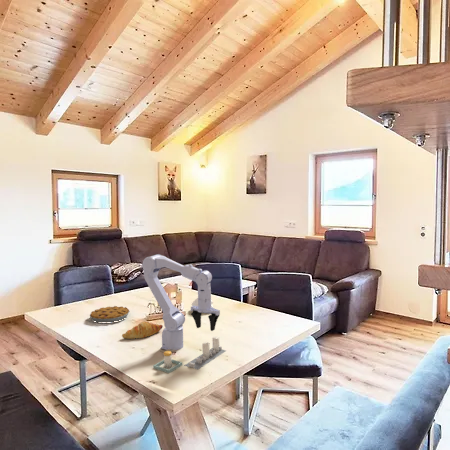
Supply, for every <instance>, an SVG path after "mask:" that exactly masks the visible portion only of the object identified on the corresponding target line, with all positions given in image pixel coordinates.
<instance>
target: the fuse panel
mask: <svg viewBox="0 0 450 450" xmlns="http://www.w3.org/2000/svg"><path fill="white" fill-rule="evenodd" d="M225 352H227V350H225V349H222V346H220V345H219V352H218V353H216V350H213V347H212V348H210V358H209V359H206V357H205V356H203V353H202V354H200V355H199V356H197V357H195V358H194V359H192V360H191V361H189V362H186V364H184V367H188V368H192V369H195V370H200V369H202V368H203V367H205V366H206V365H208V364H209V363H210V362H212V361H213V360H215V359H217V357H220V355H222V354H224V353H225Z"/></svg>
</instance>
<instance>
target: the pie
mask: <svg viewBox="0 0 450 450" xmlns="http://www.w3.org/2000/svg"><path fill="white" fill-rule="evenodd" d="M129 313H130V309H129V308H127V306H125V307H123V306H116V305H114V306H107V307H100V308H98V309H94V310H93V311H91V312H90V314H89V317H90V318H91V320H92V321H96V322H114V321H119V320H122V319H124V318H127V317H128V315H129ZM124 320H125V319H124ZM122 321H123V320H122ZM96 322H95V323H96ZM119 322H120V321H119Z"/></svg>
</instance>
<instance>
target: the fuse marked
mask: <svg viewBox="0 0 450 450" xmlns="http://www.w3.org/2000/svg"><path fill="white" fill-rule="evenodd" d="M172 357H173V356H172V350H165V351H163V360H164V363H163V364H164V365H163V366H164V367H163V368H166V369H170V368H172V367H173V363H172V359H173V358H172Z"/></svg>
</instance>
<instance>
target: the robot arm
mask: <svg viewBox="0 0 450 450" xmlns="http://www.w3.org/2000/svg"><path fill="white" fill-rule="evenodd" d="M141 268H142V269H143V278H144V280H145V282H146V284H147V286H148V288H149V290H150V292H151V293H152V295H153V297H154V298H155V300H156V302H157V304H158V306H159V307H160V309H161V311H162V320H163V322H164V323H163V324H164V328H163V330H162V332H161V347H160V349H162V350H165V351H168V350H170V351H172V350H173V351H176V350H181V349H183V348H184V326H183V324H184V323H185V321H186V317H185V315H184V313H182V311H180V309H179V308H178V307H176V306H175V305H174V304H173V303H172V300H171V299H170V297H169V295H168V294H167V292H166V290H165V288H164V286H163V285H162V283H161V281H160V279H159V278H158V275H159V273H160V270H161V268H167V269H169V270H172V271H175V272H176V273H177V272H178V273H180V274H181V276H182V277H184V278H185V279H188V280H190V281H193V282H195V284H196V285H197V298H198V306H192V305H191V306H190V312H191V313H190V315H191V317H192V318H193V320H194V322H195V323H194V324H195V326H196V329H199V328H201V326H202V313H204V314H210V315H208V316H207V317H208V319H209V326H210V331H211V332H213V331H215V329H216V325H217V322H218V319H219V317H220V315H221V309H217V308H215V307H213V308H212V307H211V300H212V291H211V290H212V289H211V281H212V280H213V275H212V273H211V272H210V271H209V270H207V269H204V270H203V269H202V268H197V267H196V266H194V265H193V264H192V263H190V264H185V265H184V264H181V263H179V262H178V261H177V262H176V261H174V260H172V259H171V258H168V257H166V256H165V255H162V254H160V253H158V254H157V253H156V254H154V255H151V256H146V257H144V259H143V260H142V264H141Z"/></svg>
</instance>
